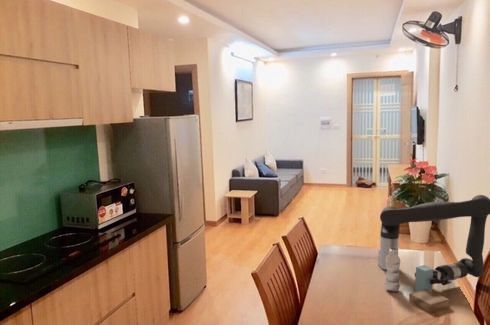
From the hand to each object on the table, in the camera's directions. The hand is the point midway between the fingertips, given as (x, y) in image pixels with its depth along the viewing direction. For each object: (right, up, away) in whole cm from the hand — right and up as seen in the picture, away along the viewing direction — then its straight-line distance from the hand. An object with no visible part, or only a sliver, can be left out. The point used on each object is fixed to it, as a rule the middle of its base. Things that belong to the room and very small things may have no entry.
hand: (422, 278), depth 173 cm
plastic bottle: (-13, -7, +4) cm, 15 cm away
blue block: (+1, -7, +1) cm, 7 cm away
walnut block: (-2, -9, -10) cm, 13 cm away
